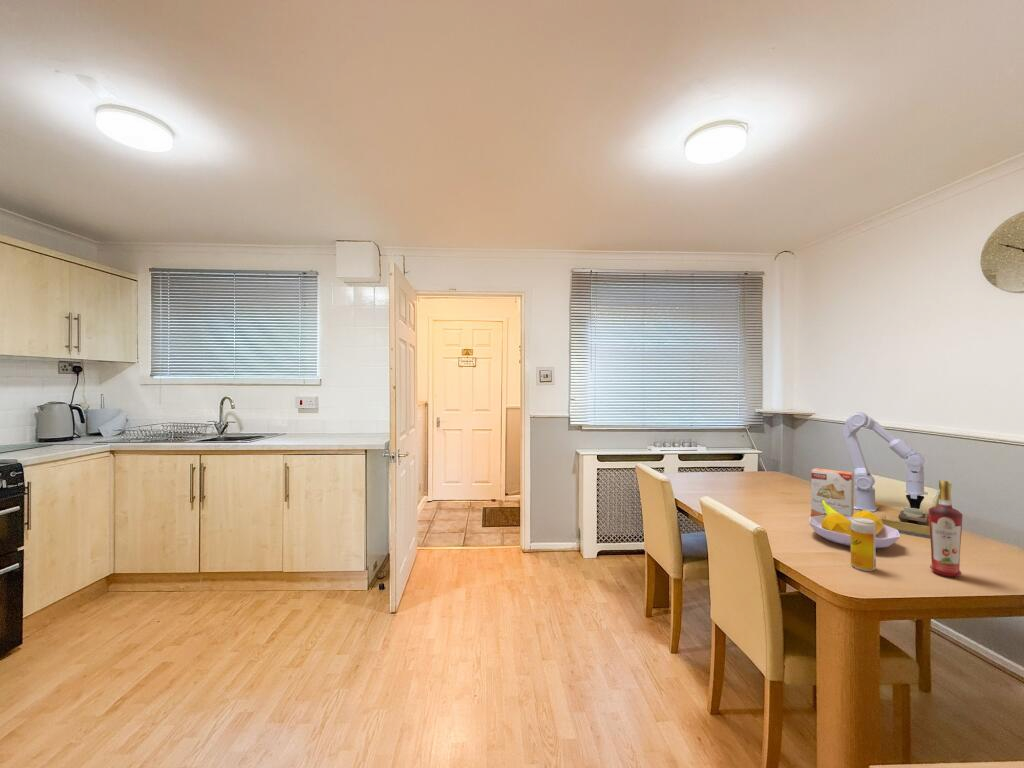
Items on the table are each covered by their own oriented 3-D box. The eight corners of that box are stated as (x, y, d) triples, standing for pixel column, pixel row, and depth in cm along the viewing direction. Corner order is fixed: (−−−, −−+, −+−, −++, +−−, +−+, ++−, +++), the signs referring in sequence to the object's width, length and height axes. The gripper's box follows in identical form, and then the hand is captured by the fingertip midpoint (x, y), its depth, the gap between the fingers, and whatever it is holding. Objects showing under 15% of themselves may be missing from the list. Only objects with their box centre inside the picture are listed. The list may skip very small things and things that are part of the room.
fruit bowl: (918, 560, 143) (917, 525, 143) (820, 550, 152) (820, 517, 152) (878, 532, 170) (878, 503, 170) (796, 525, 178) (796, 497, 179)
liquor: (961, 573, 133) (961, 481, 133) (963, 582, 127) (963, 485, 127) (928, 567, 138) (927, 477, 138) (929, 574, 132) (928, 481, 132)
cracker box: (810, 518, 188) (810, 469, 188) (813, 515, 192) (813, 467, 193) (851, 525, 178) (851, 473, 178) (854, 522, 183) (853, 471, 183)
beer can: (851, 562, 141) (851, 515, 141) (875, 567, 137) (875, 519, 137) (850, 568, 137) (850, 520, 137) (875, 573, 133) (875, 524, 133)
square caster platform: (900, 516, 190) (900, 504, 190) (928, 521, 184) (928, 508, 184) (897, 521, 183) (897, 509, 183) (927, 526, 177) (926, 513, 177)
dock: (883, 520, 185) (882, 510, 185) (942, 530, 172) (942, 519, 172) (877, 528, 174) (877, 518, 174) (941, 540, 161) (941, 529, 161)
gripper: (926, 485, 182) (926, 518, 182) (928, 479, 192) (928, 510, 192) (903, 482, 187) (904, 514, 187) (907, 477, 197) (907, 507, 197)
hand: (915, 512), depth 190 cm, fingers closed
